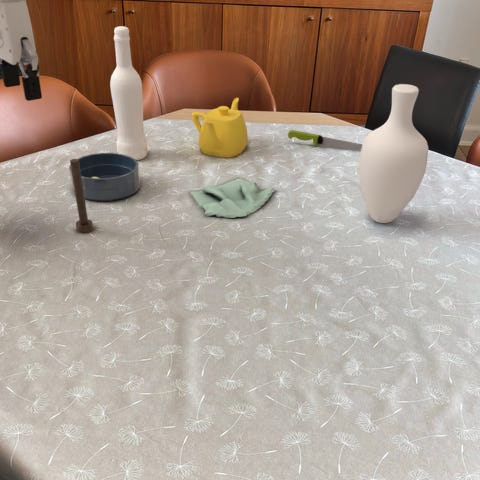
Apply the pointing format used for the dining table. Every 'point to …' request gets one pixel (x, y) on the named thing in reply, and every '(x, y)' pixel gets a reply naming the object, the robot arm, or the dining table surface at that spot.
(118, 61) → the bottle
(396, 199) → the vase
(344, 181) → the dining table surface
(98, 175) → the bowl
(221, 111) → the teapot
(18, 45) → the robot arm
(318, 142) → the kitchen knife
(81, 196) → the muddler
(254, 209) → the cloth
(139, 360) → the dining table surface
